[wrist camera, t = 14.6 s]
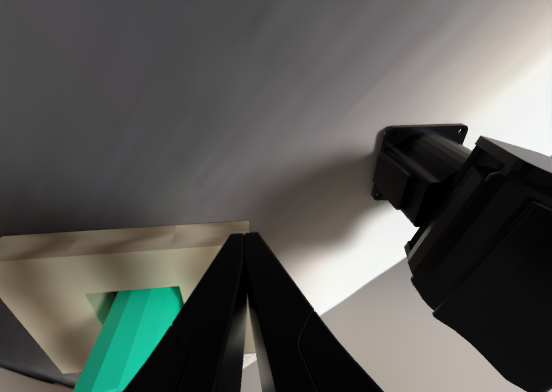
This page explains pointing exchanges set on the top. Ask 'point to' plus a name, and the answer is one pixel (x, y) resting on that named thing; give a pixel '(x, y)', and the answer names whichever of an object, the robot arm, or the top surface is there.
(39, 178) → the top surface
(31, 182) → the top surface
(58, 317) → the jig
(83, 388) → the candle
